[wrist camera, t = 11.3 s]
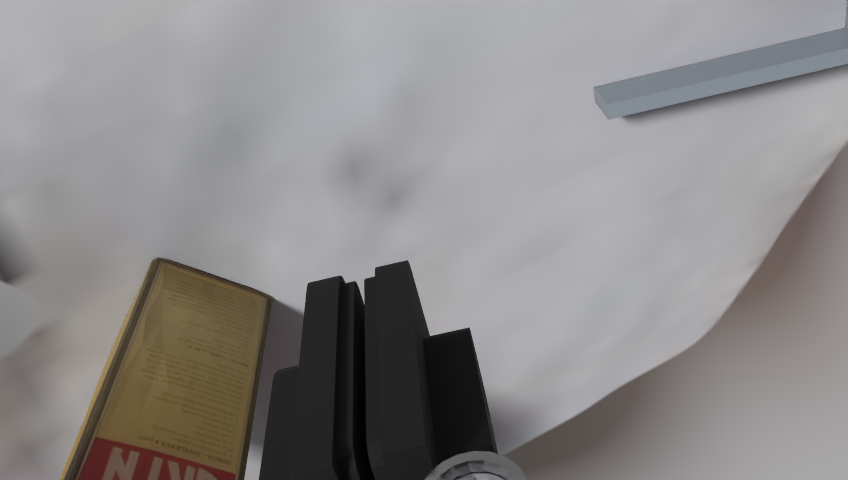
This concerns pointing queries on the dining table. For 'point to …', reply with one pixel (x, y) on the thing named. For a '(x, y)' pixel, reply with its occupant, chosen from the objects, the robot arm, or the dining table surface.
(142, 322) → the food packaging
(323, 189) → the dining table surface
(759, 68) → the tray frame
